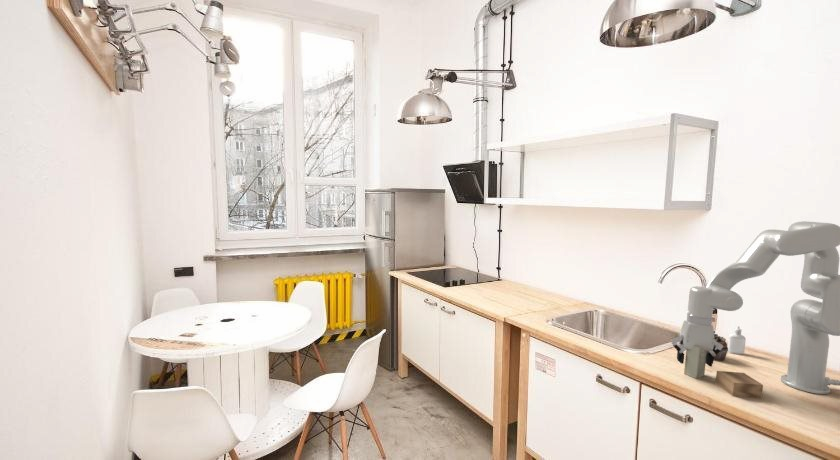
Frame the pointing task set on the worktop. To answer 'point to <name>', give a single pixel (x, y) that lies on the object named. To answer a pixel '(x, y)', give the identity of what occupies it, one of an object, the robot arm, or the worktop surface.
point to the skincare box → (695, 362)
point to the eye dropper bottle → (736, 342)
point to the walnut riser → (739, 384)
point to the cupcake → (723, 351)
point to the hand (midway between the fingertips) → (694, 363)
